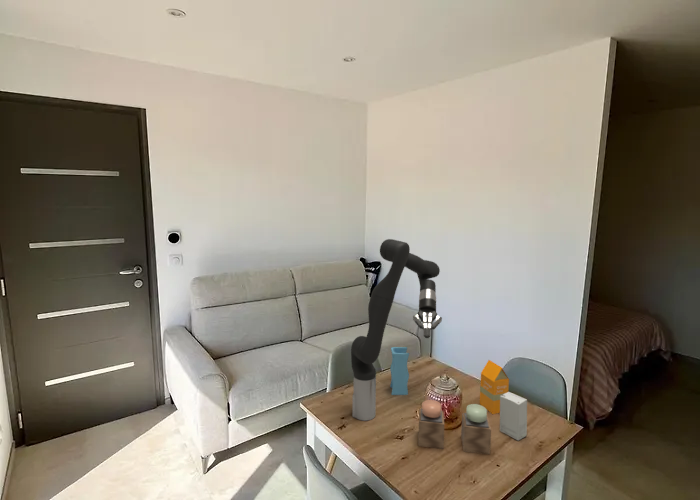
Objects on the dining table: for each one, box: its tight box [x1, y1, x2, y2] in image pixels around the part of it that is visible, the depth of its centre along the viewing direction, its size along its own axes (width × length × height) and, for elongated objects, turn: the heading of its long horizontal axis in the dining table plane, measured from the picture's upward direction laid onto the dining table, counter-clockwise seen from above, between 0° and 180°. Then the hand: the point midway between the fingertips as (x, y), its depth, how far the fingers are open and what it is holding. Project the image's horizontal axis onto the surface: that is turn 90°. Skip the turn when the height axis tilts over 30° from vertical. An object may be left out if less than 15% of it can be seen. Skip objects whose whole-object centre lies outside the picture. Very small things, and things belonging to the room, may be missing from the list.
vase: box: [389, 346, 410, 396], centre depth 179 cm, size 8×8×20 cm
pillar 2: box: [460, 412, 492, 455], centre depth 140 cm, size 9×9×10 cm
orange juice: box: [479, 359, 510, 415], centre depth 164 cm, size 8×9×20 cm
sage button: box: [465, 403, 488, 422], centre depth 139 cm, size 7×7×3 cm
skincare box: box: [499, 391, 528, 441], centre depth 147 cm, size 8×6×15 cm
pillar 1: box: [417, 408, 445, 450], centre depth 143 cm, size 9×9×10 cm
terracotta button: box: [421, 399, 442, 418], centre depth 142 cm, size 7×7×3 cm
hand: (427, 337), depth 161 cm, fingers closed
